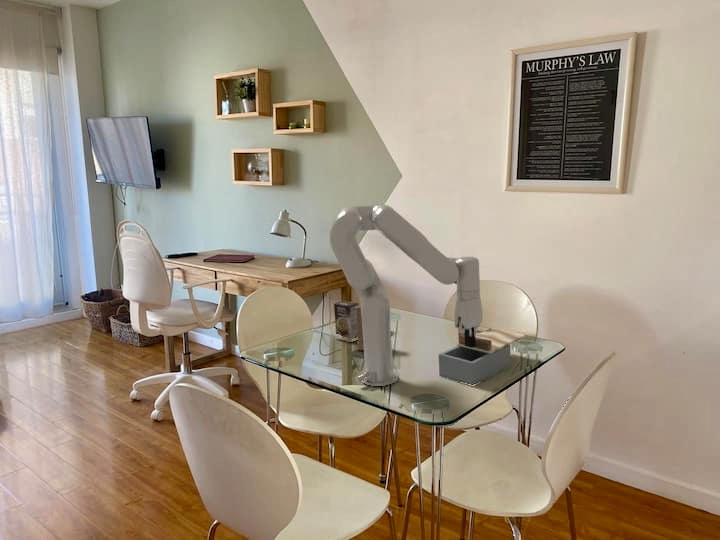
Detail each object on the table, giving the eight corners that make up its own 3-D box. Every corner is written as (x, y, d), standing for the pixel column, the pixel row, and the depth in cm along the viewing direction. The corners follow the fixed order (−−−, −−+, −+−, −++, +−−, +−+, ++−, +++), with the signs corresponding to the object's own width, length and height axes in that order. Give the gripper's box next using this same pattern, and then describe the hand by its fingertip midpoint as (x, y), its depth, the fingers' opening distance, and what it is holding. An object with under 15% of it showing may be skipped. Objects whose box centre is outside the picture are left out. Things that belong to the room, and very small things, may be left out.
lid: (490, 353, 180) (490, 342, 180) (456, 345, 190) (456, 335, 190) (525, 336, 195) (525, 326, 194) (492, 329, 205) (492, 320, 204)
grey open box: (473, 386, 175) (472, 363, 174) (439, 376, 185) (438, 354, 184) (510, 366, 190) (510, 345, 188) (477, 358, 200) (476, 337, 198)
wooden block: (384, 350, 215) (381, 306, 211) (357, 351, 216) (354, 307, 212) (384, 347, 218) (382, 304, 215) (358, 348, 219) (355, 305, 216)
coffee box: (335, 339, 232) (333, 303, 229) (345, 335, 236) (343, 300, 233) (351, 343, 226) (349, 306, 223) (361, 339, 231) (359, 302, 227)
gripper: (472, 288, 188) (474, 338, 191) (445, 297, 178) (447, 350, 182) (491, 290, 182) (492, 342, 186) (464, 300, 173) (465, 354, 176)
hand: (470, 346), depth 184 cm, fingers closed
